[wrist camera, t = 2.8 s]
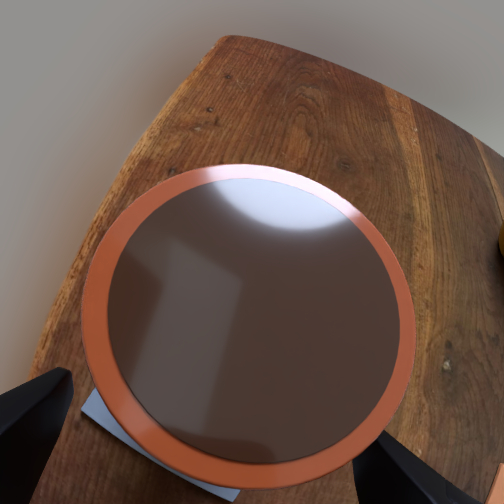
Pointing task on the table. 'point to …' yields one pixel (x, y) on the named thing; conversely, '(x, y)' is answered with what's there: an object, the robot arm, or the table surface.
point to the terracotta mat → (497, 488)
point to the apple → (501, 239)
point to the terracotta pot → (248, 326)
